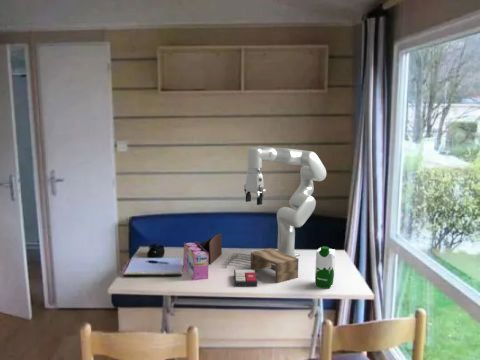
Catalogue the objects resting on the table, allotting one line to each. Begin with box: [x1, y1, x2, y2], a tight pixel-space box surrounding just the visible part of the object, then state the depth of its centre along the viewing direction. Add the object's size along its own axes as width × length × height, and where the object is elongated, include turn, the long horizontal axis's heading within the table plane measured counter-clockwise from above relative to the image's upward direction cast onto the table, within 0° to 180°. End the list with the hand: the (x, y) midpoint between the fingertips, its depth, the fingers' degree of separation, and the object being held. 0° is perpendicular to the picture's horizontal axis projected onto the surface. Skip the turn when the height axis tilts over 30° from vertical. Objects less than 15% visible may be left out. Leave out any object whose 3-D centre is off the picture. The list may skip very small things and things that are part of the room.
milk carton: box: [314, 245, 336, 290], centre depth 229 cm, size 9×9×20 cm
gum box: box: [183, 241, 209, 281], centre depth 245 cm, size 24×8×14 cm, turn 20°
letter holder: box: [199, 233, 223, 265], centre depth 268 cm, size 10×20×14 cm, turn 164°
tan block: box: [249, 247, 299, 284], centre depth 244 cm, size 14×22×10 cm, turn 36°
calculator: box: [233, 269, 258, 288], centre depth 234 cm, size 11×4×15 cm
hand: (253, 203), depth 246 cm, fingers open, 9 cm apart
